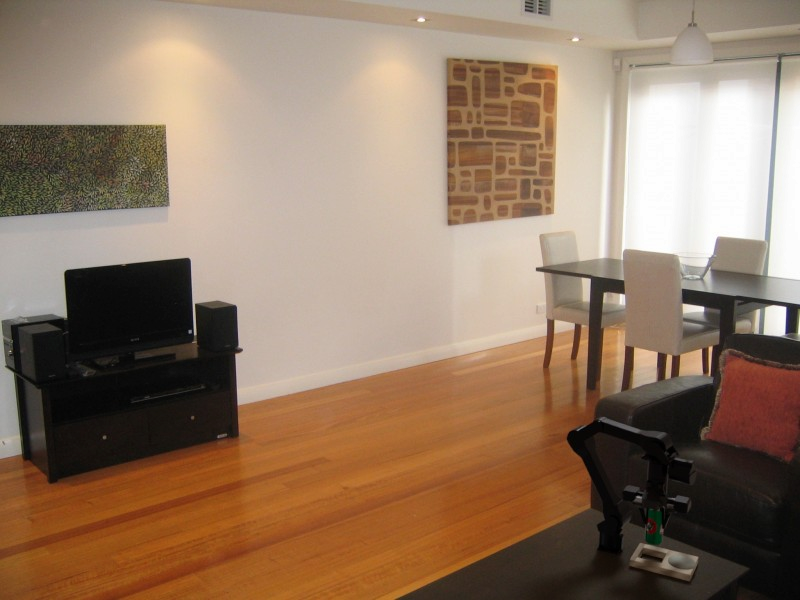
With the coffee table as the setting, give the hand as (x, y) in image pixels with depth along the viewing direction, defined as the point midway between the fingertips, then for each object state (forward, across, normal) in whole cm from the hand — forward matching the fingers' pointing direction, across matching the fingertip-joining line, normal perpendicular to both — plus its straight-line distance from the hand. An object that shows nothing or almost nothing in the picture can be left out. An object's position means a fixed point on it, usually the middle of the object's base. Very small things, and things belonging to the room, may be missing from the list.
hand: (654, 526), depth 237 cm
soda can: (+5, 0, 0) cm, 5 cm away
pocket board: (+11, +4, 0) cm, 12 cm away
